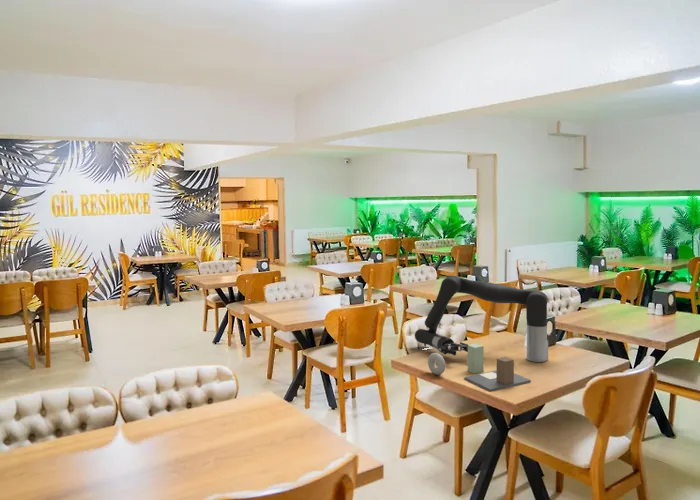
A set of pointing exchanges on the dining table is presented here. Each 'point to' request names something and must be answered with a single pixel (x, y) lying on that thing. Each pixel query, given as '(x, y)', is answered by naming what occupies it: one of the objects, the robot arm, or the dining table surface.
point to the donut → (433, 366)
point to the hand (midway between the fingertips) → (463, 351)
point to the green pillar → (475, 358)
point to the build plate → (494, 381)
